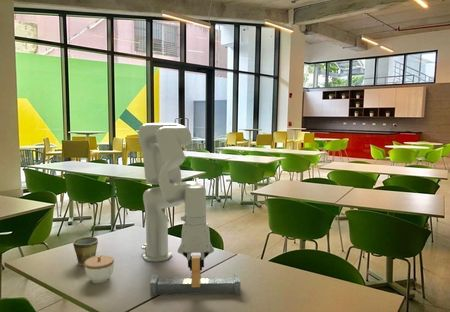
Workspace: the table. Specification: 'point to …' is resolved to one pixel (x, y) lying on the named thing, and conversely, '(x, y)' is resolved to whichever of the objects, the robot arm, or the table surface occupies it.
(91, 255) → the ceramic cup
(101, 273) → the lidded jar
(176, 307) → the table surface
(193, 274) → the clip
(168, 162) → the robot arm
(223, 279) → the rail
